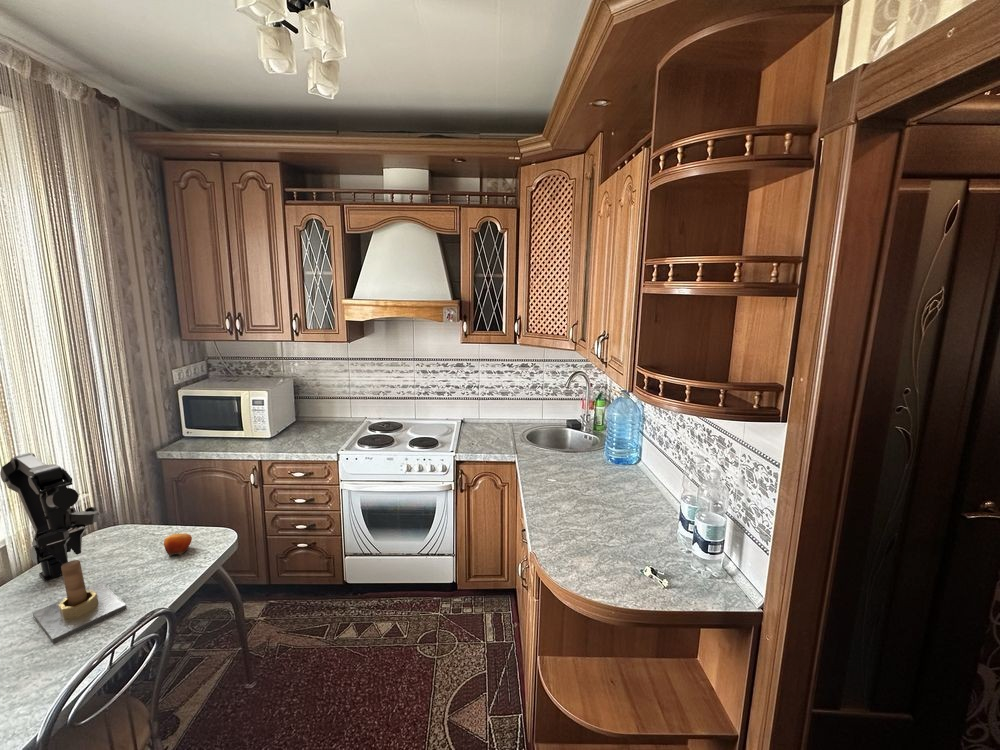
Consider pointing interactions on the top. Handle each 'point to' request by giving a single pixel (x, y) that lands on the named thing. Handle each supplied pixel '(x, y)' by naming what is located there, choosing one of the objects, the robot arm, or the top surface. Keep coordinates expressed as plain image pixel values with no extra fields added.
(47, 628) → the cup bracket
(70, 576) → the rail post
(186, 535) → the fruit
